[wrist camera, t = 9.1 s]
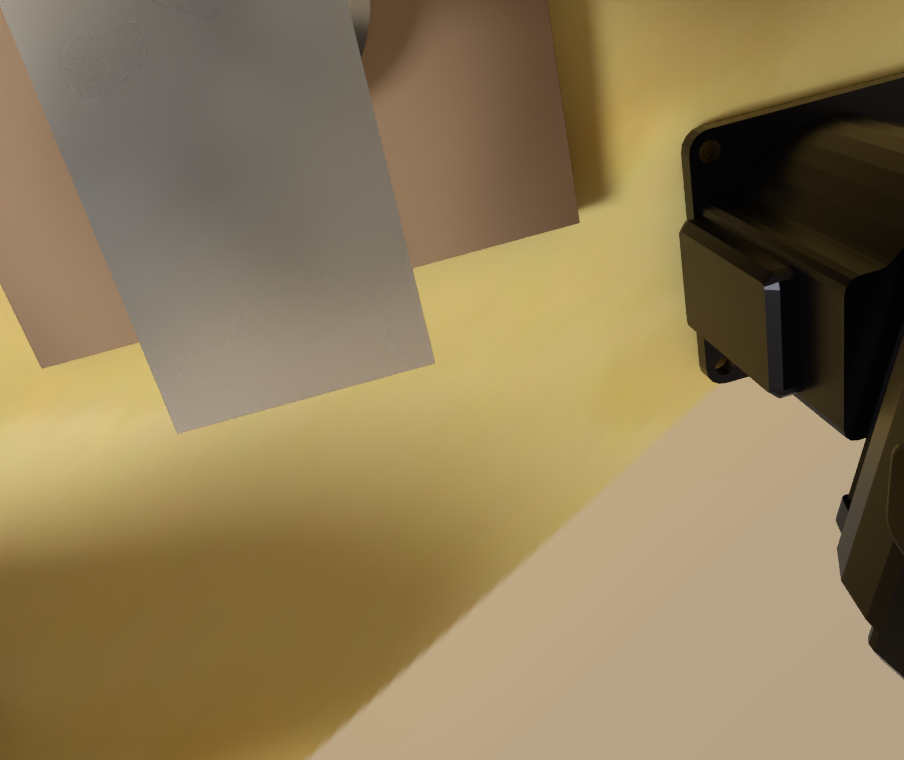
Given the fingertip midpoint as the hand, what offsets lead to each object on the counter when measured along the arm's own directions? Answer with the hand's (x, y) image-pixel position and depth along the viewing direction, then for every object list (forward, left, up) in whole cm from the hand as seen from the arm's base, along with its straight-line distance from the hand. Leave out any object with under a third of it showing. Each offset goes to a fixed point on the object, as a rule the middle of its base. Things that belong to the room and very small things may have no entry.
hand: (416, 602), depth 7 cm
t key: (+1, -5, -12) cm, 13 cm away
